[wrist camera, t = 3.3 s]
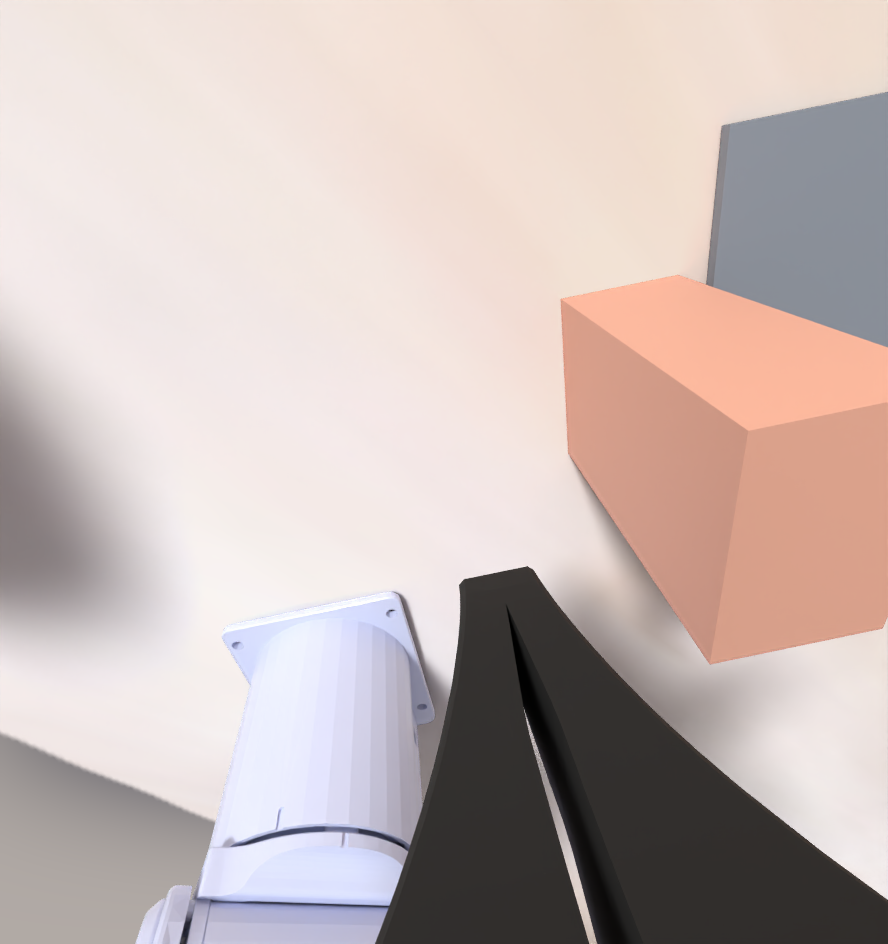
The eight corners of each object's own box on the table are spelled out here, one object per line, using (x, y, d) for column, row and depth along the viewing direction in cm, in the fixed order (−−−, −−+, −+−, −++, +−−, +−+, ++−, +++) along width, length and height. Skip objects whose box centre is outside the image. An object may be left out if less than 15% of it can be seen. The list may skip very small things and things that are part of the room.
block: (666, 432, 20) (882, 628, 11) (568, 453, 20) (709, 664, 11) (678, 275, 17) (986, 381, 8) (560, 298, 17) (748, 430, 8)
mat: (952, 453, 22) (961, 457, 22) (684, 509, 22) (689, 514, 22) (1122, 43, 15) (1140, 41, 14) (722, 125, 15) (730, 124, 14)
